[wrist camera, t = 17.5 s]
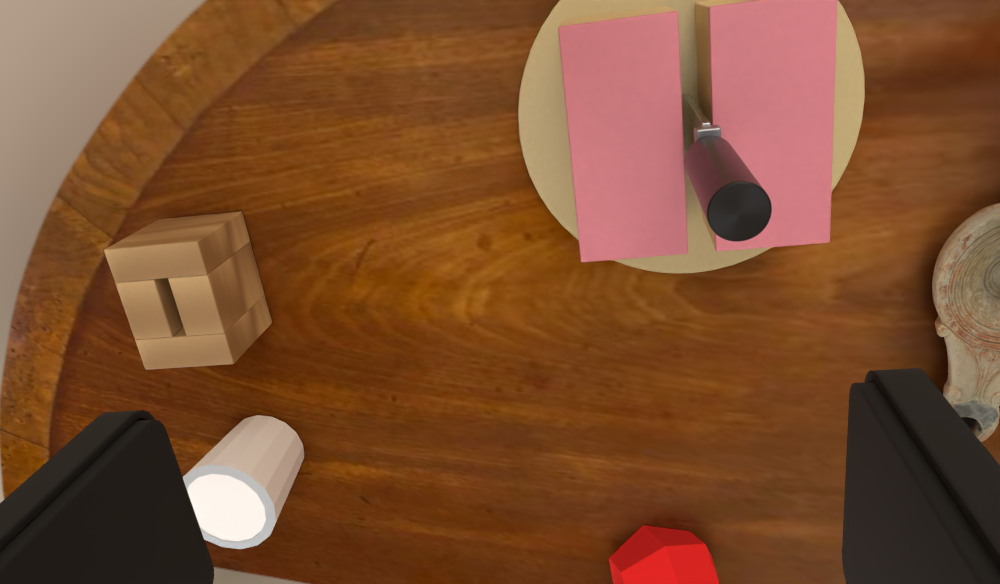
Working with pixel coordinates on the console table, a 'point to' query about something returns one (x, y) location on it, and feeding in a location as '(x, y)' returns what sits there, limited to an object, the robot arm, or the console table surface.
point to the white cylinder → (245, 482)
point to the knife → (722, 179)
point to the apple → (663, 558)
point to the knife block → (190, 290)
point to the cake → (659, 120)
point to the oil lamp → (971, 318)
